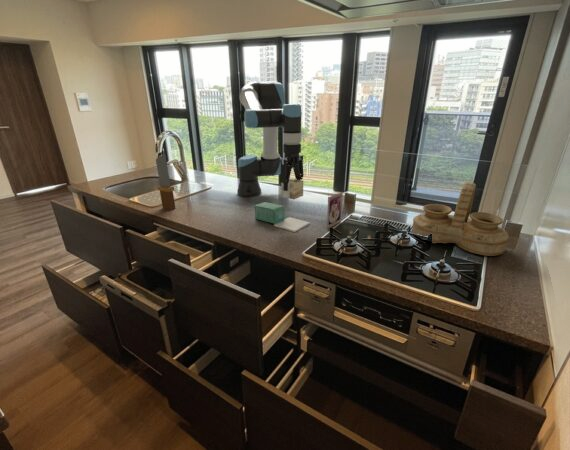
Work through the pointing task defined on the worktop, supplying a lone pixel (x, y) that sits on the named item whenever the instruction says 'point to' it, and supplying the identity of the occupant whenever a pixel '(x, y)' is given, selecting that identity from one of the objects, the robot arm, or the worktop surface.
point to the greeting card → (334, 209)
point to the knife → (165, 183)
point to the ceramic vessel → (463, 226)
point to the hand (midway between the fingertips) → (292, 195)
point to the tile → (292, 224)
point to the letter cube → (294, 188)
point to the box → (269, 212)
